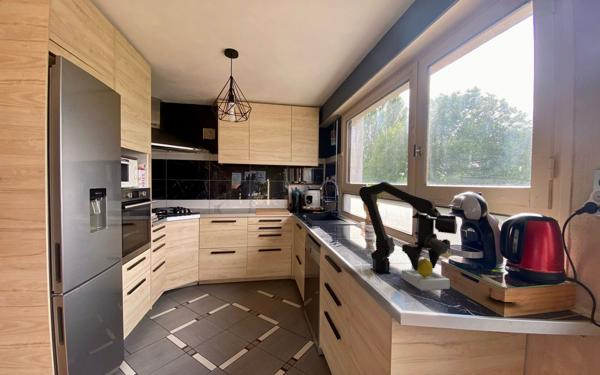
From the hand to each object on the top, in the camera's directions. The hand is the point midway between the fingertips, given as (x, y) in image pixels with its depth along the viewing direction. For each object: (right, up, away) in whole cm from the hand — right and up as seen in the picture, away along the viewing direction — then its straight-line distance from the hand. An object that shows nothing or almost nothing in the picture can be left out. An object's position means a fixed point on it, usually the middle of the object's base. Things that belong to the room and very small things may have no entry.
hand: (424, 269), depth 93 cm
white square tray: (0, -6, 0) cm, 6 cm away
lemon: (0, -4, 0) cm, 4 cm away
